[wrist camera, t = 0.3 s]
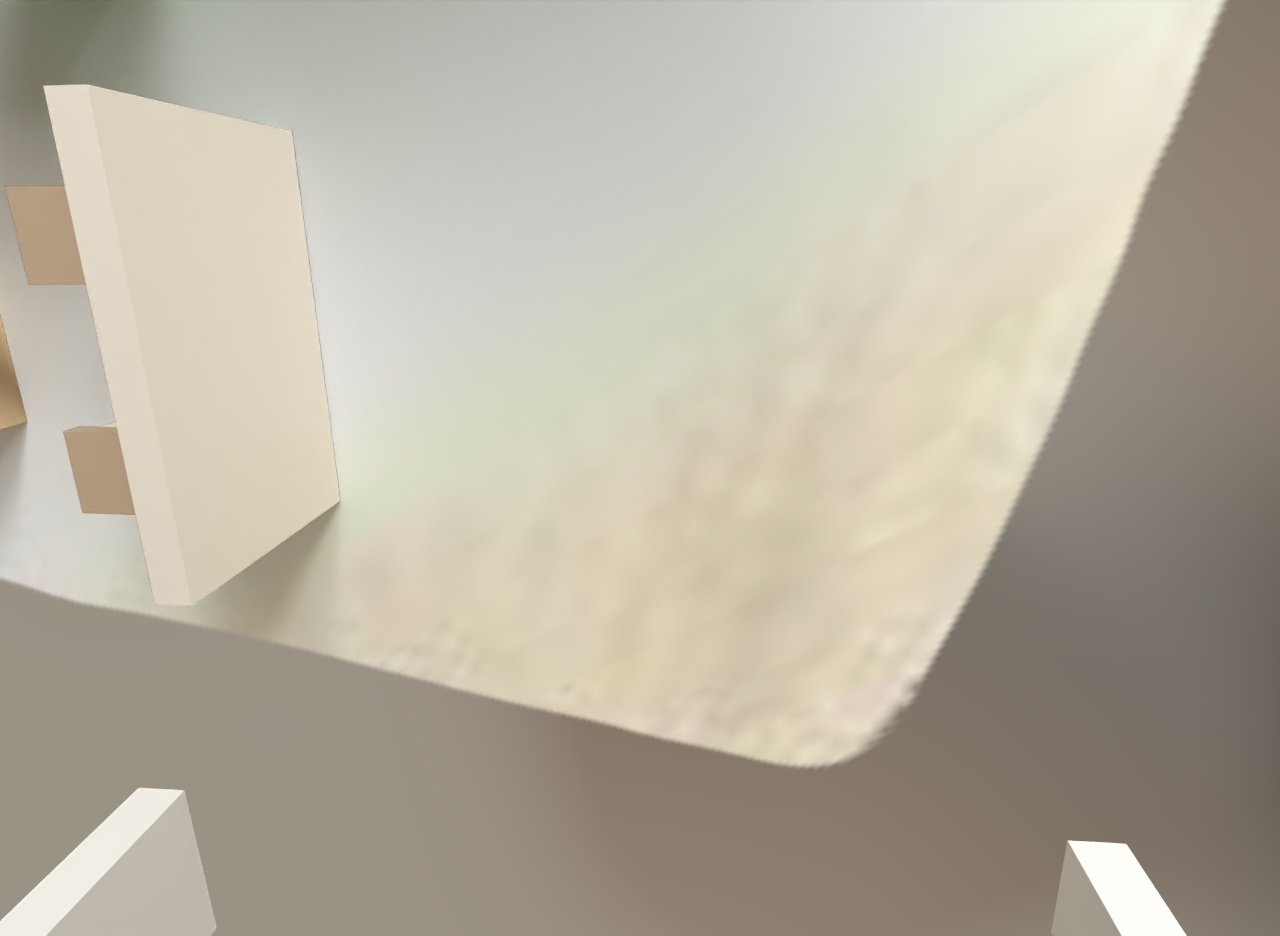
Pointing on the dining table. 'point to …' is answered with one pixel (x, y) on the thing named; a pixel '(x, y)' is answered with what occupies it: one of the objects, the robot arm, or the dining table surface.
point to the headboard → (188, 328)
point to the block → (9, 388)
